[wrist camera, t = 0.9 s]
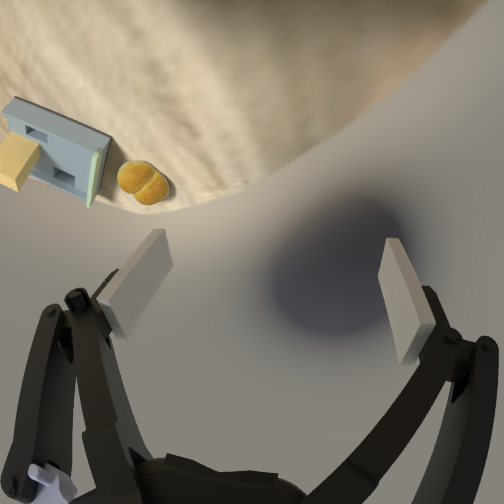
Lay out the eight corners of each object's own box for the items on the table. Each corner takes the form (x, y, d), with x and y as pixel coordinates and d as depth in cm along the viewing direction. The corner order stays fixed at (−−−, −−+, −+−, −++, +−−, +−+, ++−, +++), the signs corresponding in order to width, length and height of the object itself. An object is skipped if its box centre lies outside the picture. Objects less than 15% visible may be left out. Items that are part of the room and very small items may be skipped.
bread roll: (137, 150, 38) (125, 170, 36) (179, 183, 44) (171, 203, 42) (113, 170, 42) (102, 188, 41) (151, 198, 48) (143, 216, 47)
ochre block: (13, 145, 33) (-9, 178, 30) (11, 131, 30) (-14, 165, 27) (40, 157, 36) (18, 192, 33) (39, 143, 33) (14, 179, 30)
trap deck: (21, 152, 39) (10, 170, 37) (15, 96, 26) (-2, 115, 24) (99, 188, 48) (89, 207, 46) (111, 136, 35) (97, 158, 33)
